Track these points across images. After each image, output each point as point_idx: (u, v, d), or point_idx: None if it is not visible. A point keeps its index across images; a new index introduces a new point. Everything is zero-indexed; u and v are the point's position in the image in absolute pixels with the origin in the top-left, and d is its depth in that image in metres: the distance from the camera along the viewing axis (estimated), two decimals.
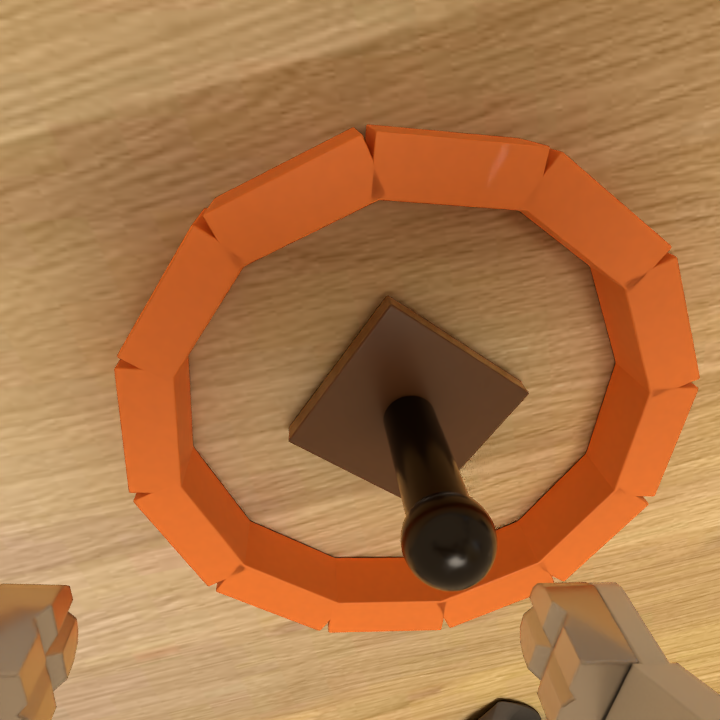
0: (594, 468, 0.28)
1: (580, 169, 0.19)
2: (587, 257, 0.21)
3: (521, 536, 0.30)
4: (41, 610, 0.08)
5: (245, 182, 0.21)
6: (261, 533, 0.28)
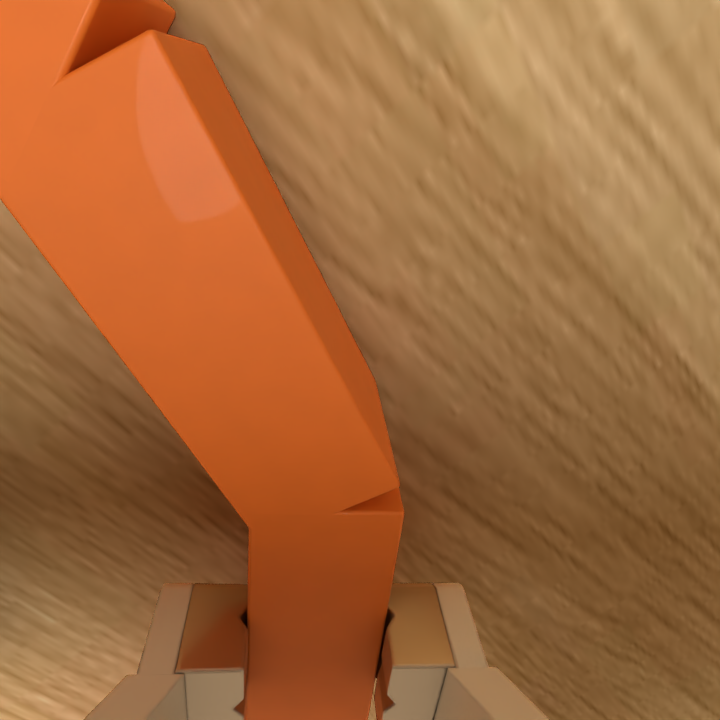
0: None
1: (393, 563, 0.08)
2: (249, 673, 0.09)
3: None
4: (243, 608, 0.09)
5: None
6: None
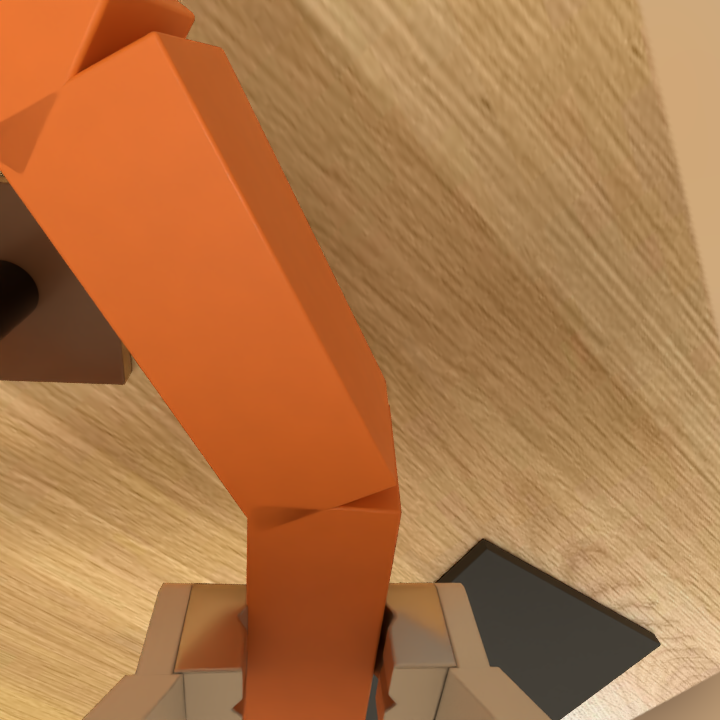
0: None
1: (389, 562, 0.08)
2: (248, 662, 0.09)
3: None
4: (241, 608, 0.09)
5: None
6: None
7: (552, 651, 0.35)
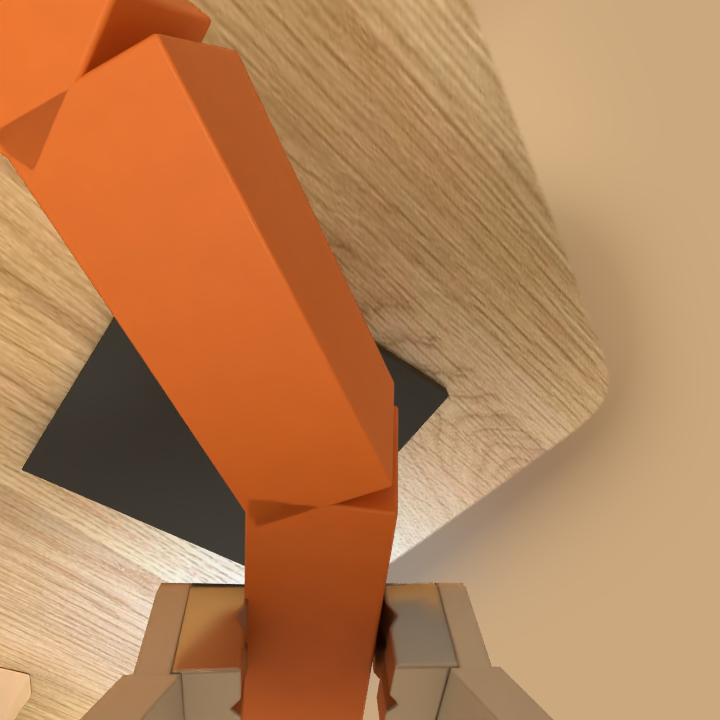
0: None
1: (385, 563, 0.08)
2: None
3: None
4: (240, 608, 0.09)
5: None
6: None
7: None
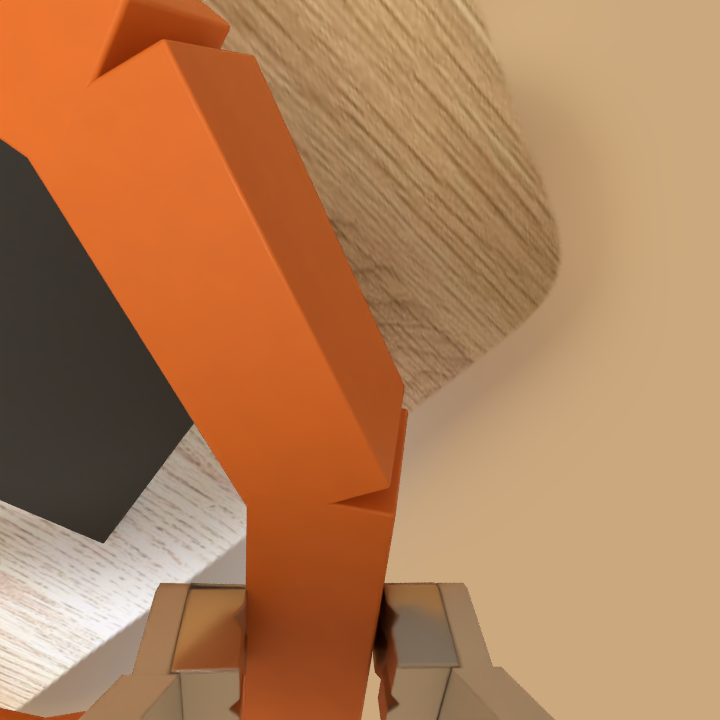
0: None
1: (383, 564, 0.08)
2: None
3: None
4: (239, 608, 0.09)
5: None
6: None
7: None
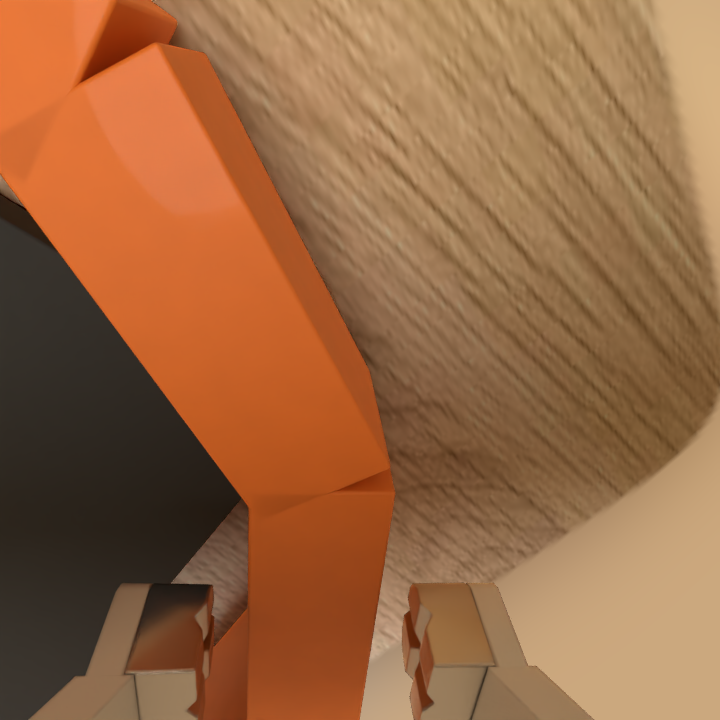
0: None
1: (385, 541, 0.09)
2: (250, 648, 0.10)
3: None
4: (200, 608, 0.09)
5: None
6: None
7: None
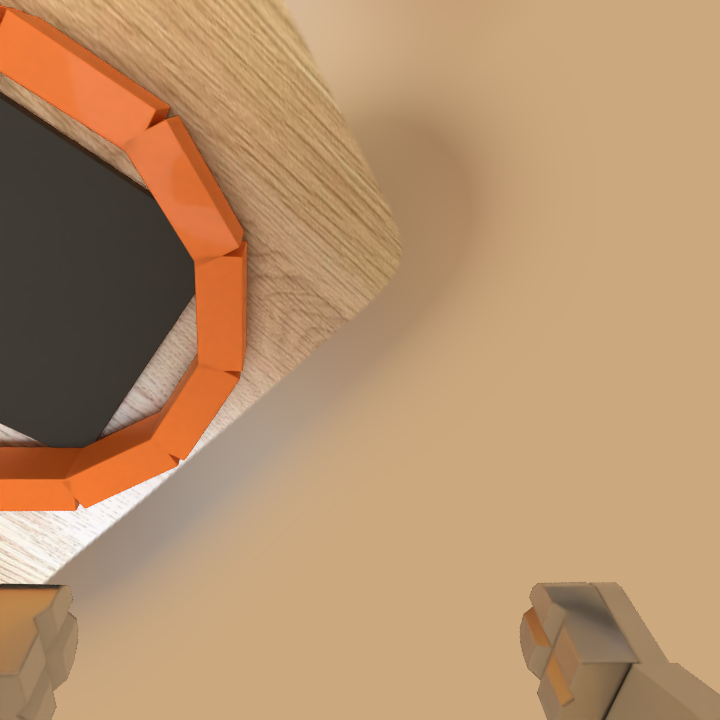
0: (73, 459, 0.32)
1: (241, 277, 0.26)
2: (197, 324, 0.27)
3: None
4: (41, 610, 0.08)
5: None
6: None
7: (73, 243, 0.28)
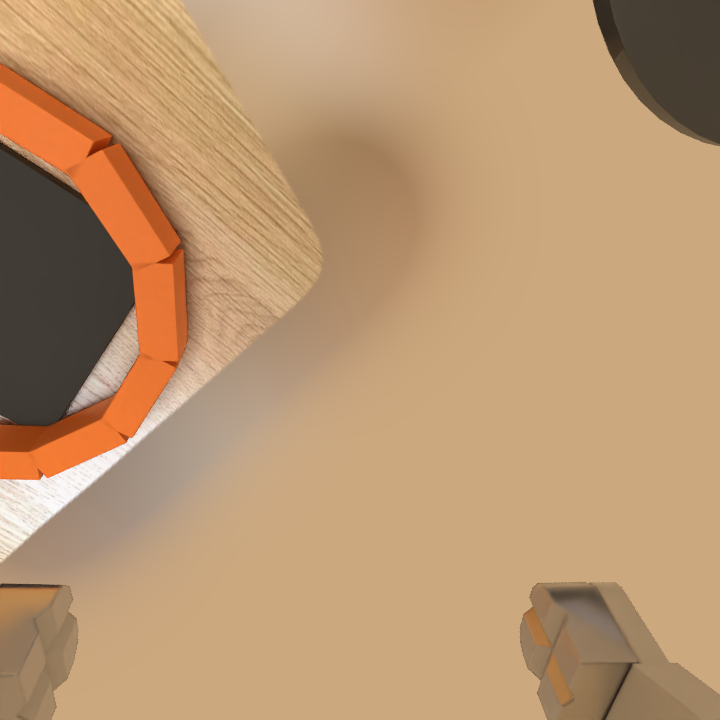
0: (39, 435, 0.36)
1: (172, 281, 0.31)
2: (137, 320, 0.32)
3: None
4: (42, 610, 0.08)
5: (25, 79, 0.28)
6: None
7: (33, 250, 0.32)
